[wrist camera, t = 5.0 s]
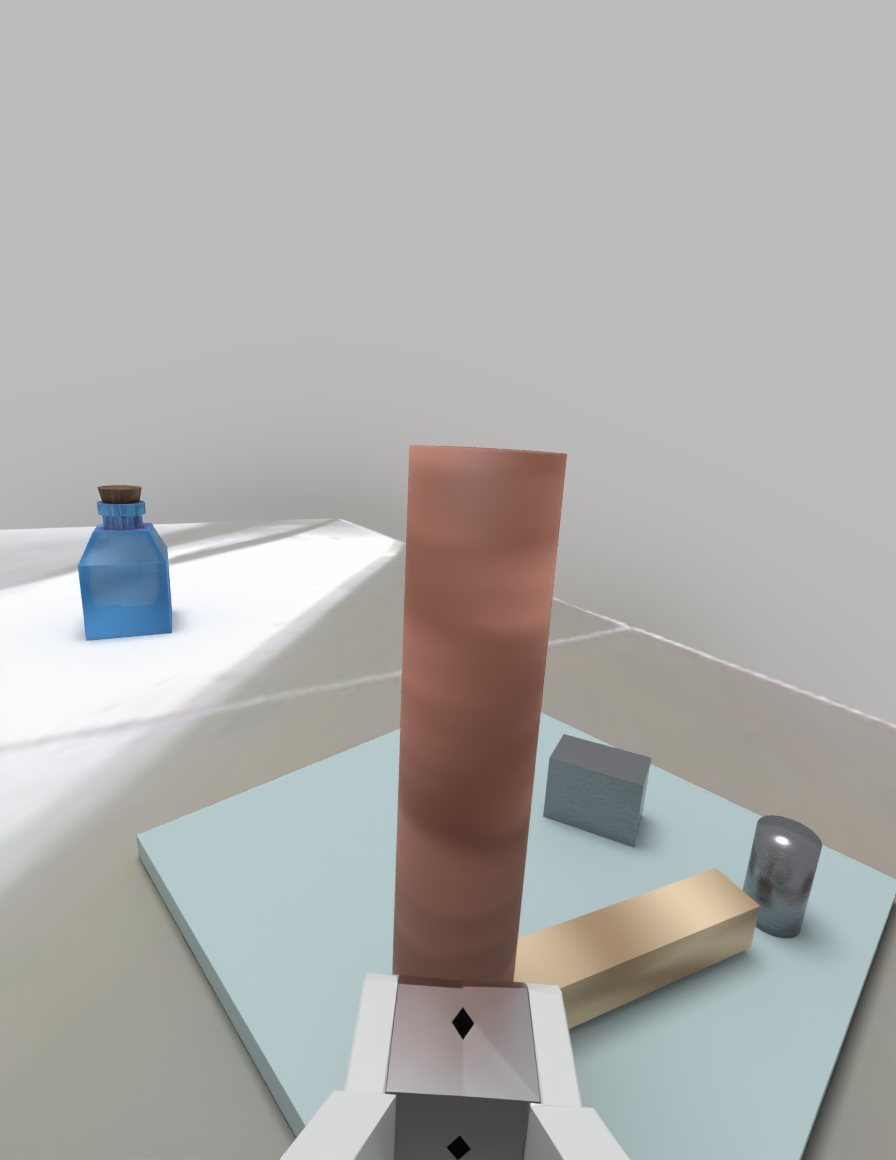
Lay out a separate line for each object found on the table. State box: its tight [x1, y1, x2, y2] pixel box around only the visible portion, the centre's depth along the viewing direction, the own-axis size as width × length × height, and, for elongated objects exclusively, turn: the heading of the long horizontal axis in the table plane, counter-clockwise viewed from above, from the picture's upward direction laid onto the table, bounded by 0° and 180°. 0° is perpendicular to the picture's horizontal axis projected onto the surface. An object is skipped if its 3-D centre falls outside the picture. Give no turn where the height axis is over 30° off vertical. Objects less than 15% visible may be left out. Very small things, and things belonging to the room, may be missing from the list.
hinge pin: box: [742, 815, 822, 938], centre depth 21 cm, size 2×2×4 cm
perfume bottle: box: [78, 485, 172, 640], centre depth 48 cm, size 6×6×12 cm
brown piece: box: [392, 445, 760, 1029], centre depth 15 cm, size 12×3×16 cm, turn 114°
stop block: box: [543, 734, 651, 848], centre depth 25 cm, size 4×2×3 cm, turn 64°
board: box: [137, 713, 896, 1160], centre depth 23 cm, size 22×22×1 cm
